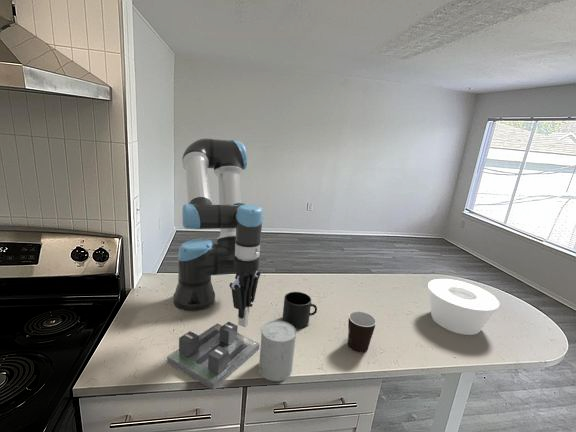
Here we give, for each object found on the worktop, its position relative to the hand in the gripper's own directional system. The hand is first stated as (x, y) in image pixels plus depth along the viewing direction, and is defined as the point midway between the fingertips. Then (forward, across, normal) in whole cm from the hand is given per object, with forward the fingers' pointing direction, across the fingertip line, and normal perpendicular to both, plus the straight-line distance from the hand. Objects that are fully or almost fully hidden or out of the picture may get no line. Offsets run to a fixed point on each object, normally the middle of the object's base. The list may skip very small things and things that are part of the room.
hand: (242, 324), depth 105 cm
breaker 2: (+2, -18, -5) cm, 18 cm away
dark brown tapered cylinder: (+4, +19, -33) cm, 38 cm away
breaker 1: (+1, -17, +6) cm, 18 cm away
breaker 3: (+1, -7, 0) cm, 7 cm away
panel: (+4, -12, 0) cm, 13 cm away
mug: (+4, +18, -11) cm, 22 cm away
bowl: (+4, +56, -59) cm, 82 cm away
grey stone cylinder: (+4, -7, -17) cm, 19 cm away
